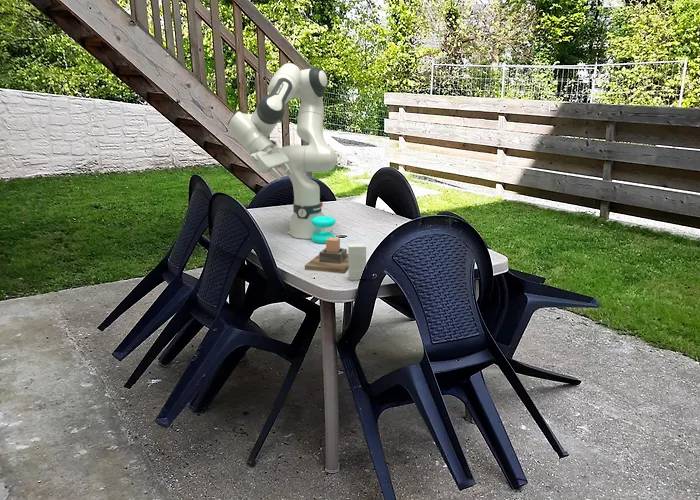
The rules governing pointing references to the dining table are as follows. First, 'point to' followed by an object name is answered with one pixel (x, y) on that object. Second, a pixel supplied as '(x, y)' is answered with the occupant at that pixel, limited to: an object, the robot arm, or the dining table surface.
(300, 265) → the dining table surface
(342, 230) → the dining table surface
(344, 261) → the sleeve stand
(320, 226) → the donuts
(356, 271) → the skincare box
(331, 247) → the terracotta peg
